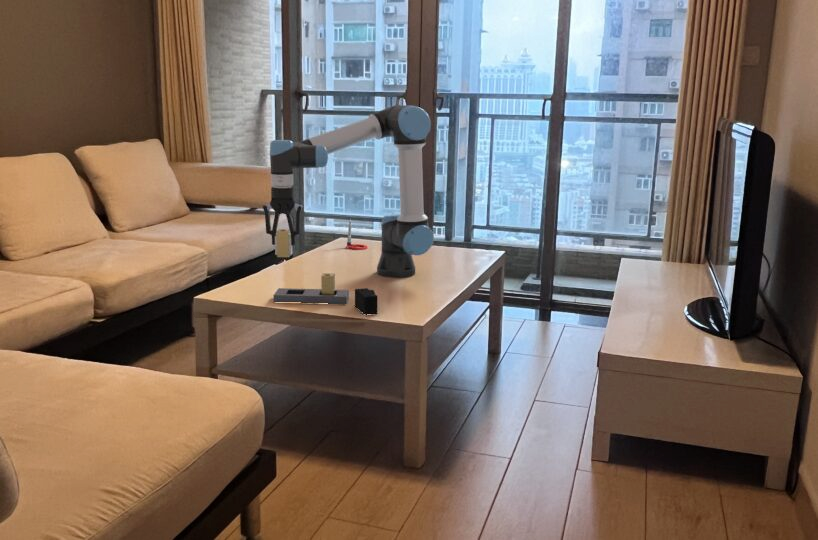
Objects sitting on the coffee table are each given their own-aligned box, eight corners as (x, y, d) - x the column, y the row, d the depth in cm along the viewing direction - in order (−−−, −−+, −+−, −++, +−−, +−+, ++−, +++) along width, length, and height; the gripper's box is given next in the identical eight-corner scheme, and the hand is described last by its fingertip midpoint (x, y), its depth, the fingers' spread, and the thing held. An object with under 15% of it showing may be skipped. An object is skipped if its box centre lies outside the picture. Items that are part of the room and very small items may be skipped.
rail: (348, 299, 262) (348, 289, 261) (346, 307, 253) (346, 296, 252) (278, 298, 262) (278, 288, 261) (273, 305, 253) (273, 295, 252)
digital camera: (381, 316, 243) (381, 295, 242) (364, 318, 241) (364, 296, 240) (370, 308, 253) (370, 287, 251) (354, 309, 251) (354, 288, 249)
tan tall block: (290, 254, 266) (290, 229, 264) (288, 257, 262) (288, 231, 260) (279, 254, 266) (278, 228, 264) (277, 257, 262) (276, 230, 260)
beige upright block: (334, 299, 259) (334, 273, 257) (333, 302, 255) (333, 276, 253) (323, 299, 259) (322, 273, 257) (321, 302, 255) (321, 275, 253)
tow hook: (368, 247, 351) (348, 245, 351) (370, 219, 347) (350, 218, 348) (365, 251, 342) (345, 249, 343) (367, 223, 339) (346, 221, 340)
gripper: (254, 187, 255) (256, 256, 260) (305, 188, 255) (307, 256, 260) (259, 184, 262) (261, 251, 268) (309, 185, 262) (310, 252, 268)
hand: (283, 254), depth 264 cm, fingers closed on tan tall block, 4 cm apart
